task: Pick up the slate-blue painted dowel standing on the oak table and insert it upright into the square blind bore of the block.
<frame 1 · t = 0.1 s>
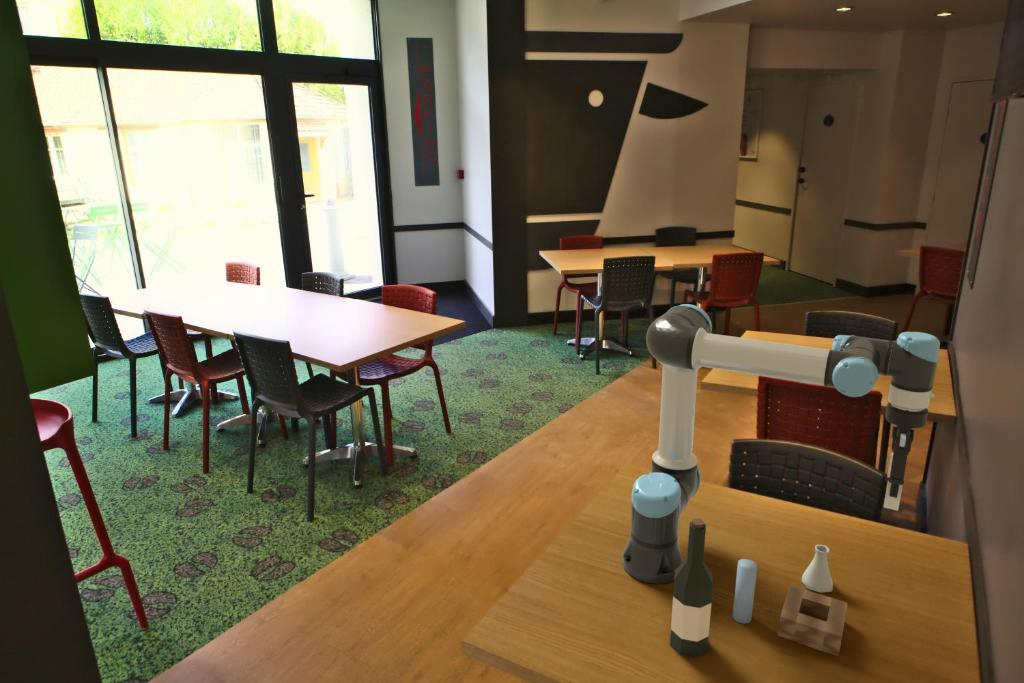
hand: (892, 494, 143), 28 cm above the table, fingers open, 13 cm apart
flask: (816, 584, 157), on the table
wine bottle: (688, 644, 139), on the table
bore block: (811, 628, 143), on the table
dowel: (742, 617, 147), on the table
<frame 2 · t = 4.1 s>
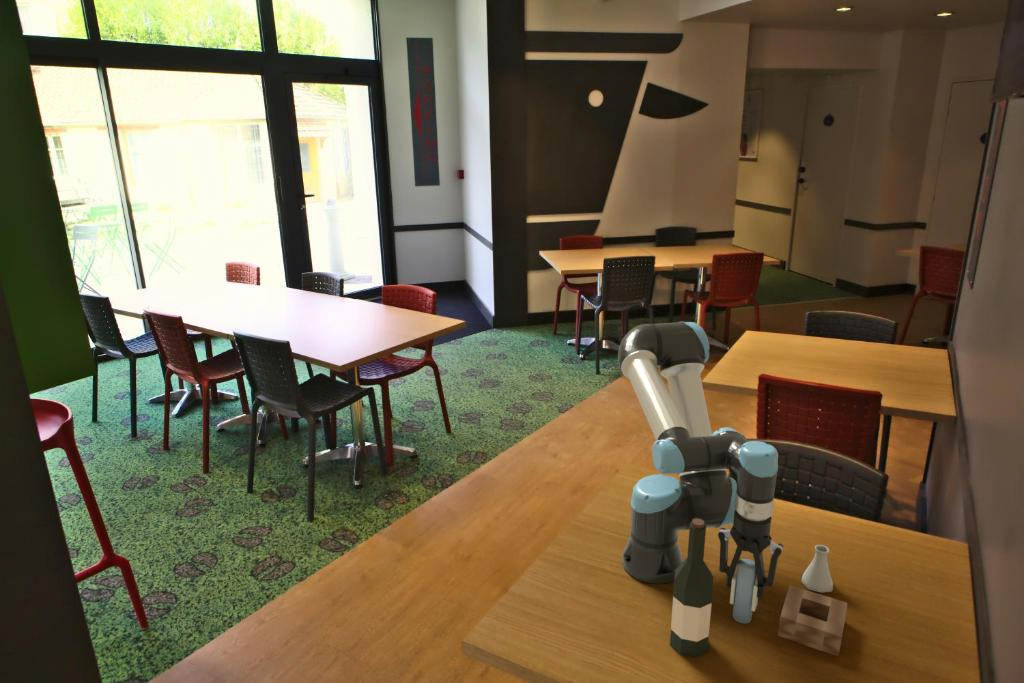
hand: (743, 603, 145), 4 cm above the table, fingers closed on dowel, 4 cm apart
dowel: (742, 617, 147), on the table, touching gripper
everything else where it was.
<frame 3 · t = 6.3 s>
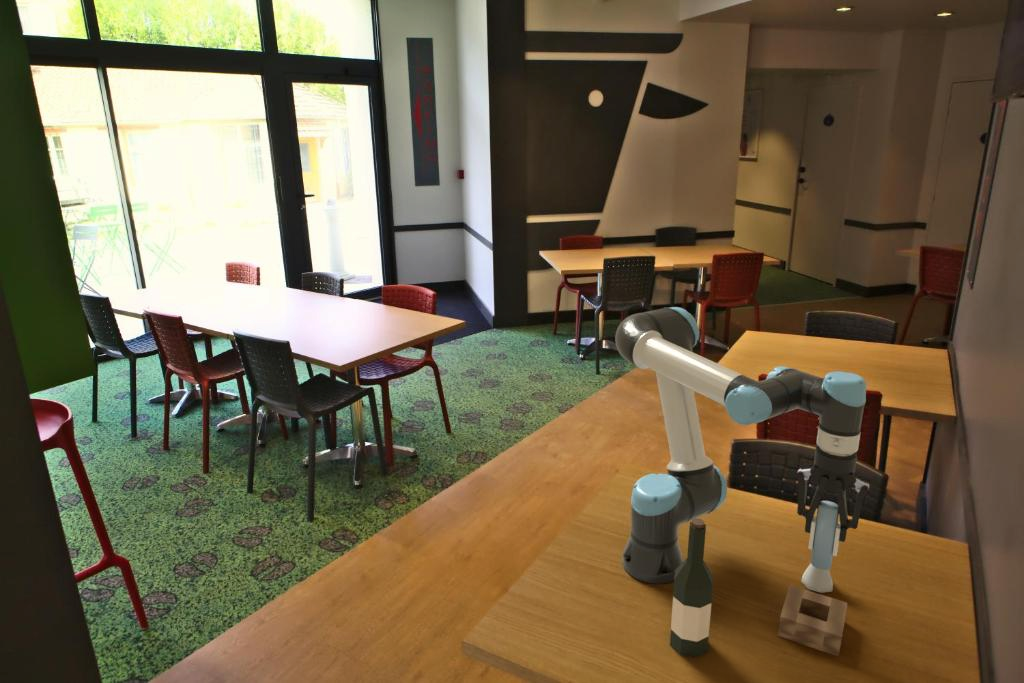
hand: (823, 549, 137), 20 cm above the table, fingers closed on dowel, 4 cm apart
dowel: (820, 564, 138), point 17 cm above the table, touching gripper
everything else where it was.
when the fingers open (6 cm above the table, at t = 8.4 s): dowel drops 1 cm, resting on bore block.
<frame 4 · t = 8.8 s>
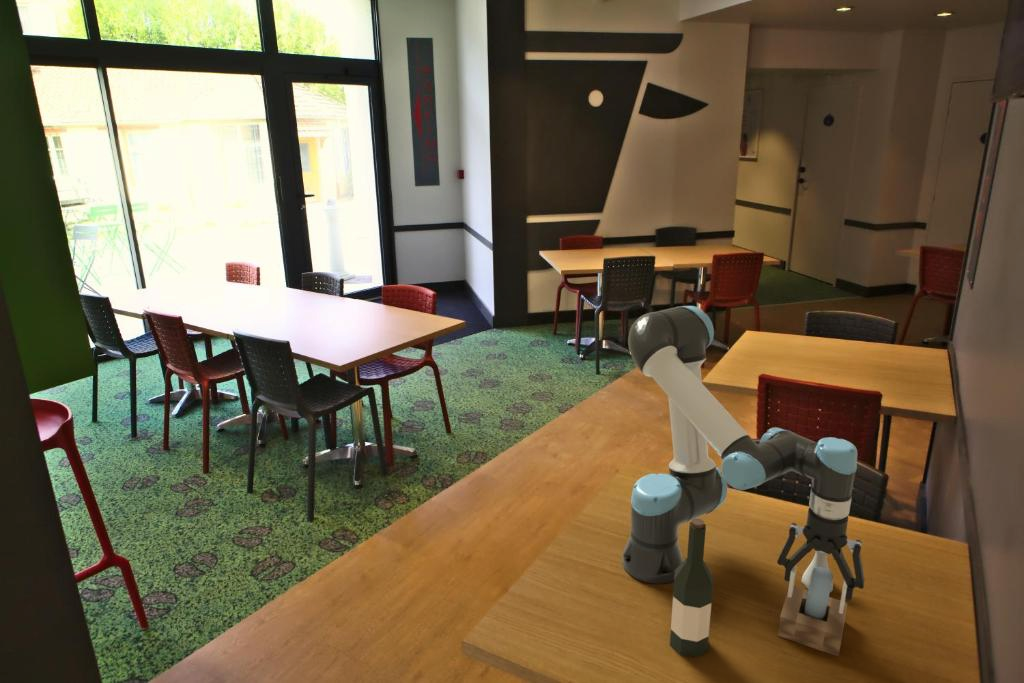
hand: (815, 601, 141), 7 cm above the table, fingers open, 9 cm apart
dowel: (812, 624, 142), point 1 cm above the table, touching bore block
everything else where it was.
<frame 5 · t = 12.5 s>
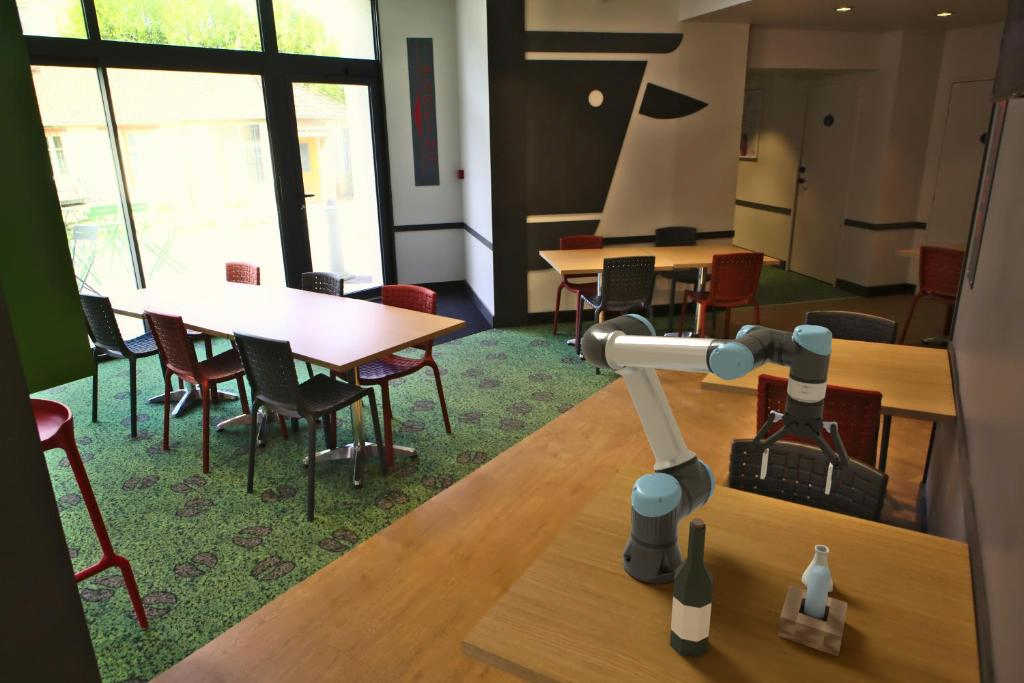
hand: (794, 483, 147), 29 cm above the table, fingers open, 13 cm apart
at the end: dowel 0.1 cm off-centre on the bore block, point 1.0 cm above the bore block's base; dowel tilted 1°; the gripper is holding nothing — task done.
